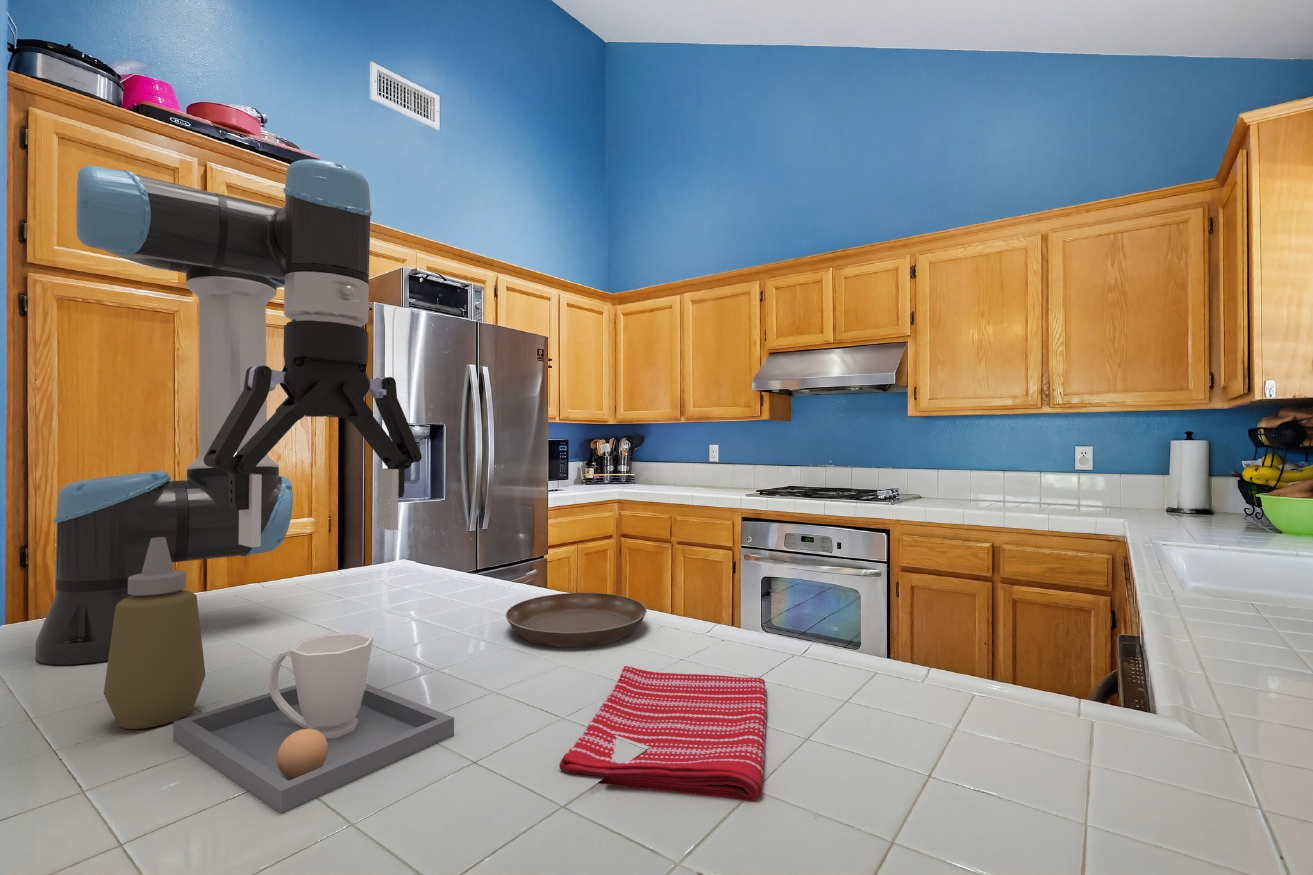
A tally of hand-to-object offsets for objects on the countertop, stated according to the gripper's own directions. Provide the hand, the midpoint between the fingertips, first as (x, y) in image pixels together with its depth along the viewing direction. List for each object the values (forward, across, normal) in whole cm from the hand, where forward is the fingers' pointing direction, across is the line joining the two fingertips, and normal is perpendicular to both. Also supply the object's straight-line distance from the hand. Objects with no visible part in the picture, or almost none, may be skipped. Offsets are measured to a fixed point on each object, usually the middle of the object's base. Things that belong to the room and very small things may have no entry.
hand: (324, 536), depth 63 cm
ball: (+17, -7, -12) cm, 22 cm away
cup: (+18, -2, -4) cm, 18 cm away
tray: (+18, -3, -6) cm, 19 cm away
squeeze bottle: (+19, -10, +13) cm, 25 cm away
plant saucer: (+19, +38, 0) cm, 42 cm away
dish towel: (+18, +19, -30) cm, 40 cm away
